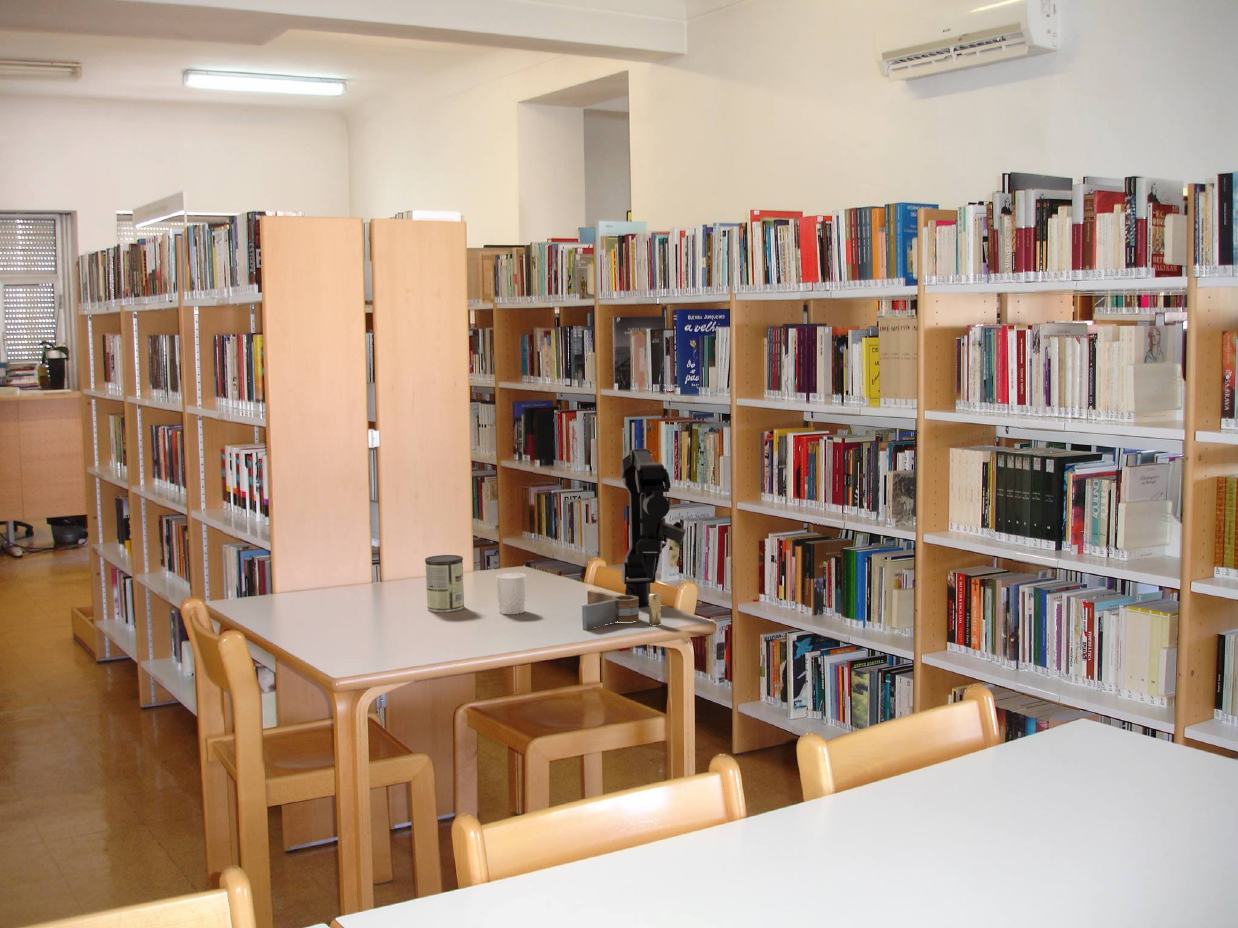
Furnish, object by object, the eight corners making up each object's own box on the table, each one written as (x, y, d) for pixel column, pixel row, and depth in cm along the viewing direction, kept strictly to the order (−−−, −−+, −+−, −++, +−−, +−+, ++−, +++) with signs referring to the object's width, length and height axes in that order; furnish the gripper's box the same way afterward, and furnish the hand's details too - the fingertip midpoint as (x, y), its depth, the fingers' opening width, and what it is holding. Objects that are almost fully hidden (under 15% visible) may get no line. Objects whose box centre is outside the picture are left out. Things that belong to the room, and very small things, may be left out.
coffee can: (431, 604, 331) (430, 554, 330) (468, 604, 330) (466, 554, 328) (422, 612, 321) (420, 561, 319) (459, 612, 320) (458, 561, 318)
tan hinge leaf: (644, 620, 307) (643, 597, 306) (624, 624, 302) (624, 601, 301) (599, 610, 319) (599, 588, 319) (580, 614, 315) (579, 592, 314)
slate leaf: (626, 616, 312) (625, 593, 311) (644, 620, 307) (643, 597, 306) (575, 627, 300) (575, 604, 299) (593, 631, 295) (593, 608, 294)
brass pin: (655, 622, 304) (654, 592, 303) (663, 624, 301) (663, 593, 301) (646, 624, 302) (646, 593, 301) (654, 626, 299) (654, 595, 299)
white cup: (500, 616, 315) (499, 579, 314) (495, 610, 322) (494, 573, 321) (529, 613, 317) (528, 577, 316) (523, 607, 324) (522, 572, 323)
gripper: (680, 518, 288) (681, 581, 289) (686, 509, 306) (687, 568, 308) (635, 518, 290) (636, 581, 291) (643, 509, 308) (644, 568, 309)
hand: (652, 574), depth 300 cm, fingers open, 9 cm apart
